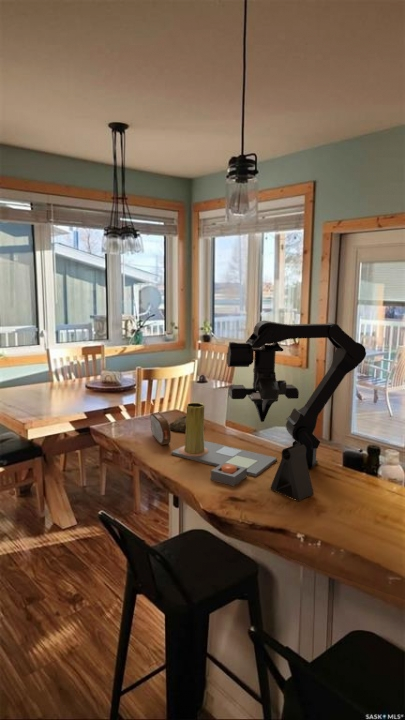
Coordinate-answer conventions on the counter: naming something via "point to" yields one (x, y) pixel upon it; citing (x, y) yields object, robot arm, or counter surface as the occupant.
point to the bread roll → (179, 424)
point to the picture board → (229, 457)
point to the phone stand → (293, 474)
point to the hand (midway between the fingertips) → (262, 421)
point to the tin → (160, 428)
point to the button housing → (228, 475)
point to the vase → (194, 428)
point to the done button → (229, 468)
